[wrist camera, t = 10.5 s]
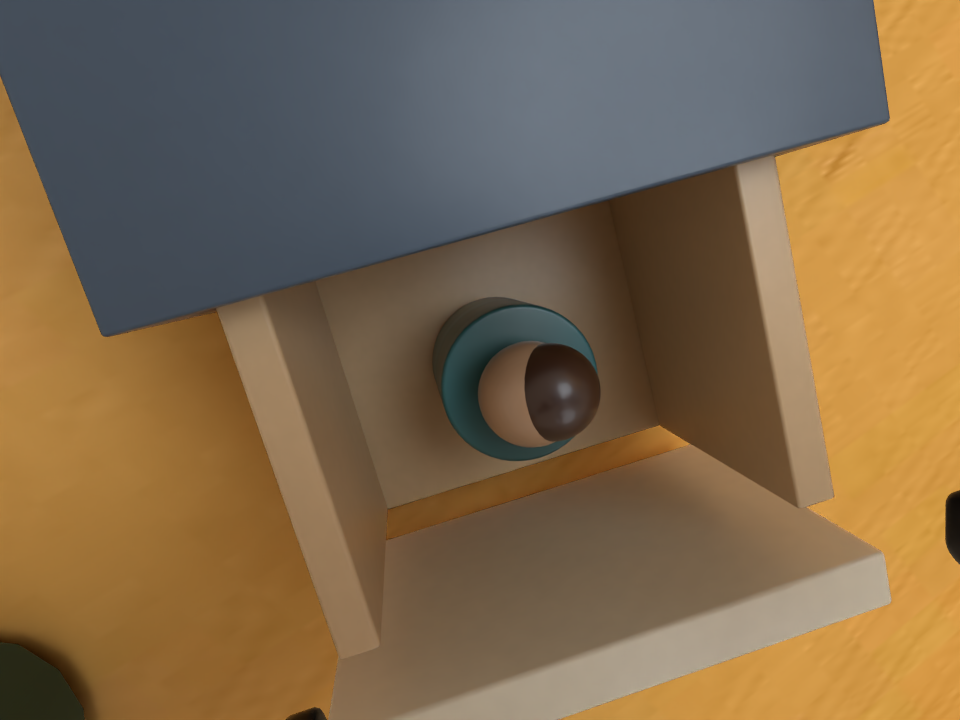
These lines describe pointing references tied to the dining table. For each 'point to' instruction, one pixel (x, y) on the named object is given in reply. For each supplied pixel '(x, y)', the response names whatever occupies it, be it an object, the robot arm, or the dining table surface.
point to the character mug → (33, 688)
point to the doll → (515, 378)
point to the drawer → (576, 505)
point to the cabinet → (393, 123)
